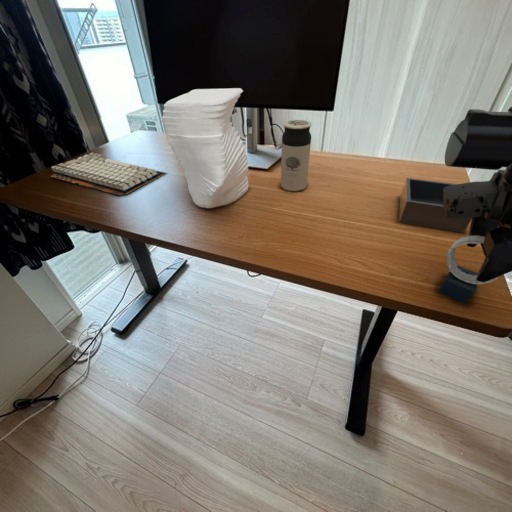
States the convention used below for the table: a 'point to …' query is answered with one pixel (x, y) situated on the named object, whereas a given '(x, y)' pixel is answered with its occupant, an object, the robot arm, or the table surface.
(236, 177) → the paper stack
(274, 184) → the table surface
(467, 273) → the watch
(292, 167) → the travel mug
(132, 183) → the mechanical keyboard
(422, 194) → the basin
